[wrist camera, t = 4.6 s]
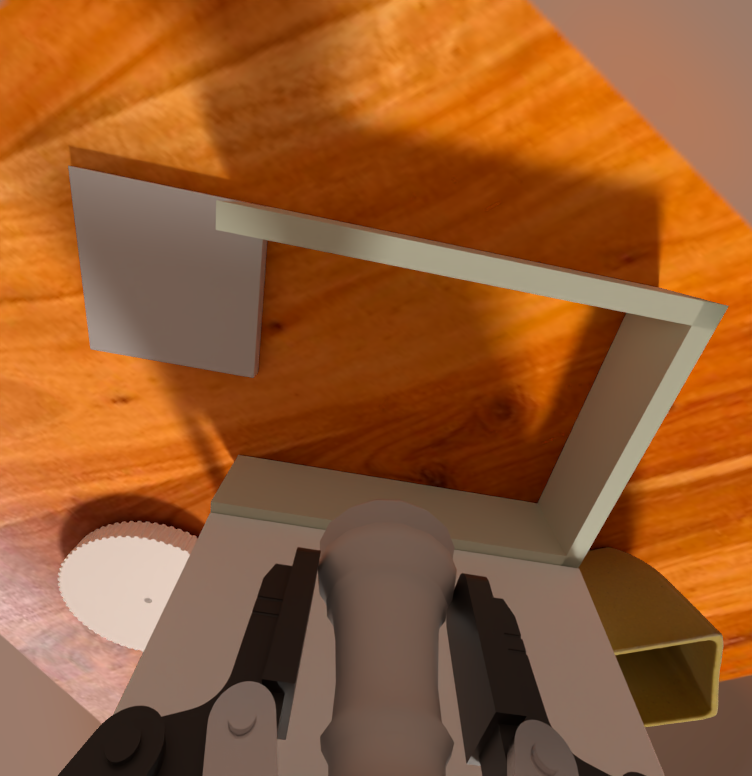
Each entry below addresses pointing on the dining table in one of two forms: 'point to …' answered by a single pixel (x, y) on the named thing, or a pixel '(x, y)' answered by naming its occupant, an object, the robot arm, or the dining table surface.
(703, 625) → the flower pot
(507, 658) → the robot arm
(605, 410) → the frame
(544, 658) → the lid propped
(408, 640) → the rook chess piece
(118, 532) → the plastic lid
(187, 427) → the dining table surface
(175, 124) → the dining table surface
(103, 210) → the slate tile
